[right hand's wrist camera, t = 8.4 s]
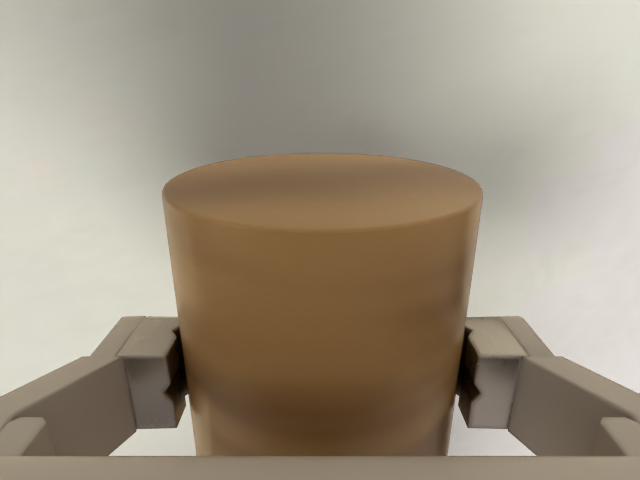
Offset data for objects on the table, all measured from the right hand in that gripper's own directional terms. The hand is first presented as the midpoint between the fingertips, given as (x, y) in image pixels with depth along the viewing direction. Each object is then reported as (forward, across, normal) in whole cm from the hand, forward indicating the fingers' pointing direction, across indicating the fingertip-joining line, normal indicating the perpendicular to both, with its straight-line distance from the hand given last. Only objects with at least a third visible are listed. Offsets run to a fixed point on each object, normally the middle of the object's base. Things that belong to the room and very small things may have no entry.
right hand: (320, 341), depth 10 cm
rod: (+3, 0, +7) cm, 8 cm away
